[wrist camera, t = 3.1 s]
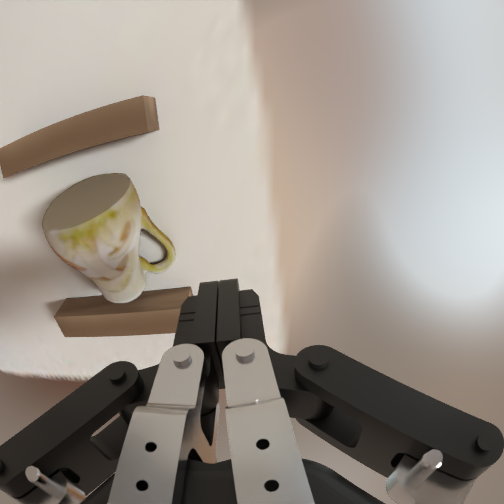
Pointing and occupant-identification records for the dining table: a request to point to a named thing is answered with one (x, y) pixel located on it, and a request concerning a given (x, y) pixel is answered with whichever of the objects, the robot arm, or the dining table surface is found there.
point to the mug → (105, 235)
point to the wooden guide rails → (74, 139)
